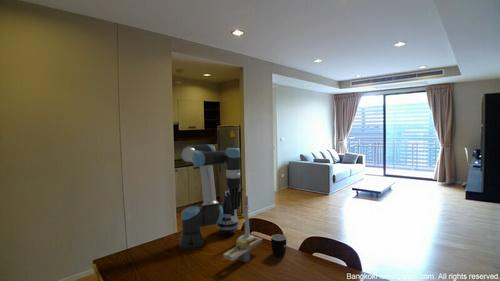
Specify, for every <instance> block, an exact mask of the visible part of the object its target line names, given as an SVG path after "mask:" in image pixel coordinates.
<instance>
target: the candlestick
mask: <svg viewBox="0 0 500 281" xmlns="http://www.w3.org/2000/svg"><path fill="white" fill-rule="evenodd" d="M243 206H244V211H245V212H244V234H241V235H240V236H238V238H237V239H236V241H237V240H239V239H240V238H245V239H248V240H249V239H250V238H252V237H254V236H255V235H252V234H250V220H249V207H250V205H249V196H248V195H245V196H244V205H243Z"/></svg>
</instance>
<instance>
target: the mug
mask: <svg viewBox="0 0 500 281" xmlns="http://www.w3.org/2000/svg"><path fill="white" fill-rule="evenodd" d="M270 244H271V251H272V254H273V256H274V257H276V258H283V257H284V256H285V255H286V252H287V251H286V250H287V236H286V235H284V234H279V233H277V234H273V235H271V236H270Z"/></svg>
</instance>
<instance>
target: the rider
mask: <svg viewBox="0 0 500 281" xmlns="http://www.w3.org/2000/svg"><path fill="white" fill-rule="evenodd" d="M235 242H236V244H235V245H236V246H238V247H240V249H242V248H244V249H245V248H246V247H248V246H250V240H248V239H245V238H240V239H239V240H237V239H236V241H235ZM236 246H235V247H236Z"/></svg>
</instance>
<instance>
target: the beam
mask: <svg viewBox="0 0 500 281" xmlns="http://www.w3.org/2000/svg"><path fill="white" fill-rule="evenodd" d="M253 236H254V237H252V238H250V239H249V240H250V246H248V247H246V248H245V249H244V248H242V249H240V247H238V246H235V247H233V248H231V249H229V250H227V251H226V252H223V253H222V258H223V259H224V260H225V259H226V260H228V261H231V262H232V261H234V260H236V259H238V261H241V262H243V263H245V264H246V263H247V262H249V261H250V260H251V250H252V249H253V248H256V247H257V246H259V245H260V244H262V243H263V242H264V241H263V240H264V239H263V237H259V236H255V235H253Z"/></svg>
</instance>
